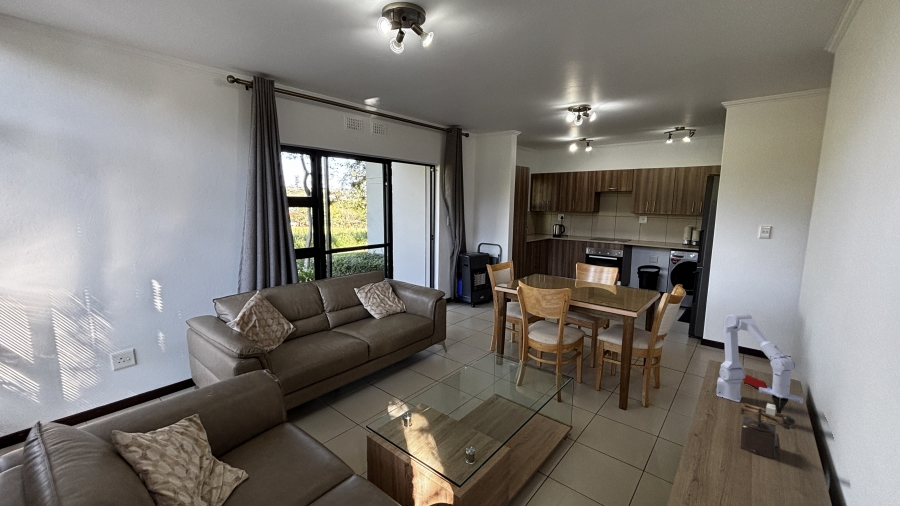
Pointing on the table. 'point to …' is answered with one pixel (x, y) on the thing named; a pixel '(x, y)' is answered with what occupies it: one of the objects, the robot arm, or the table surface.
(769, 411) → the block
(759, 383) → the handheld game console
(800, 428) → the table surface
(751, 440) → the dark brown boxy piece
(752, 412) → the brown wooden frame
